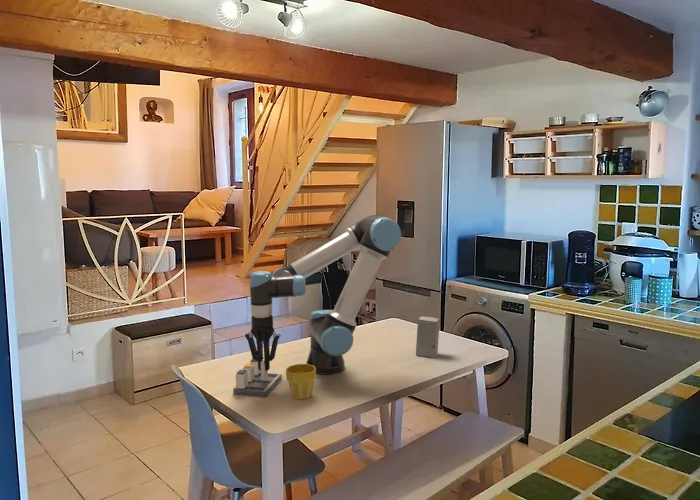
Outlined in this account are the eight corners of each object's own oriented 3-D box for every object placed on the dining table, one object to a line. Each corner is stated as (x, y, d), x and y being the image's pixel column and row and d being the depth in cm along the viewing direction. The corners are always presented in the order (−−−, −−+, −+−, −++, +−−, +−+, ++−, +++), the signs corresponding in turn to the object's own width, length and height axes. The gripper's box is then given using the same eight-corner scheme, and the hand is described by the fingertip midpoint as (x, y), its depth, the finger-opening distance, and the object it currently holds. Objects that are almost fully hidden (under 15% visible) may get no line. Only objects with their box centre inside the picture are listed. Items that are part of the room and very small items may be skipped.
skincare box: (415, 355, 235) (416, 319, 233) (420, 350, 242) (420, 315, 239) (435, 358, 232) (436, 321, 230) (439, 353, 238) (440, 317, 236)
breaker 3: (261, 372, 210) (260, 357, 209) (257, 375, 206) (257, 360, 206) (253, 371, 210) (253, 357, 210) (250, 374, 207) (249, 360, 206)
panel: (281, 379, 209) (281, 373, 208) (265, 397, 192) (265, 391, 192) (251, 376, 211) (251, 371, 211) (233, 394, 195) (233, 388, 194)
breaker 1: (248, 385, 197) (247, 369, 196) (244, 388, 194) (243, 373, 193) (240, 384, 198) (239, 369, 197) (236, 388, 194) (235, 372, 194)
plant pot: (286, 390, 198) (286, 363, 197) (316, 389, 199) (315, 362, 198) (286, 402, 188) (285, 374, 187) (316, 401, 189) (316, 373, 188)
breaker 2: (254, 378, 203) (254, 363, 203) (251, 381, 200) (250, 366, 199) (246, 377, 204) (246, 363, 203) (243, 381, 201) (242, 366, 200)
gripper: (282, 313, 200) (285, 376, 203) (248, 311, 203) (251, 373, 206) (275, 318, 193) (278, 383, 196) (240, 317, 195) (243, 381, 199)
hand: (264, 378), depth 201 cm, fingers closed
